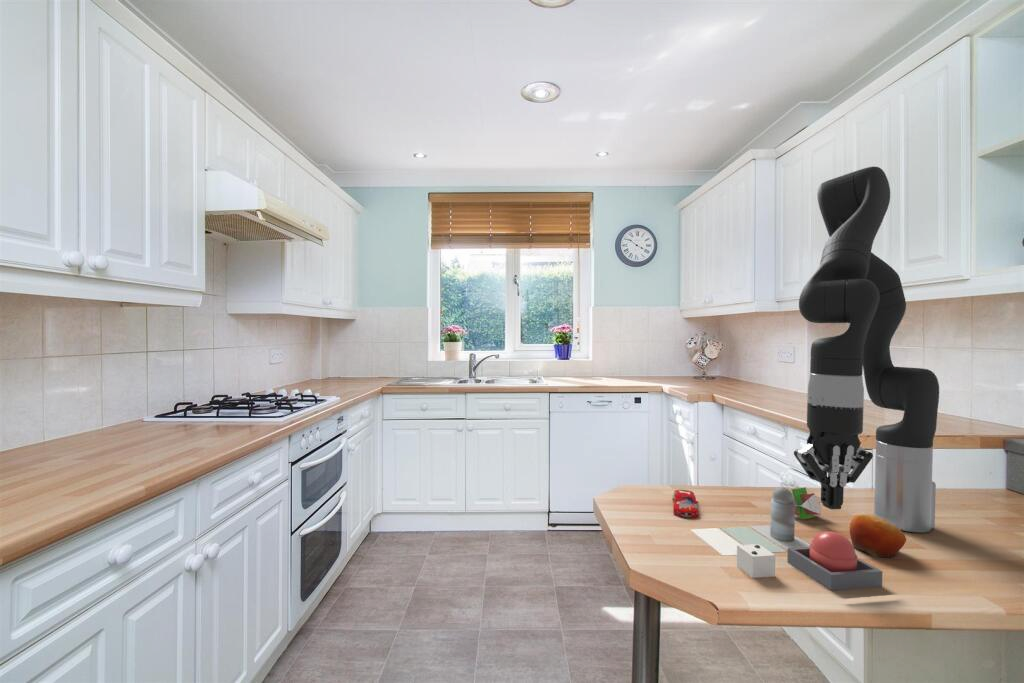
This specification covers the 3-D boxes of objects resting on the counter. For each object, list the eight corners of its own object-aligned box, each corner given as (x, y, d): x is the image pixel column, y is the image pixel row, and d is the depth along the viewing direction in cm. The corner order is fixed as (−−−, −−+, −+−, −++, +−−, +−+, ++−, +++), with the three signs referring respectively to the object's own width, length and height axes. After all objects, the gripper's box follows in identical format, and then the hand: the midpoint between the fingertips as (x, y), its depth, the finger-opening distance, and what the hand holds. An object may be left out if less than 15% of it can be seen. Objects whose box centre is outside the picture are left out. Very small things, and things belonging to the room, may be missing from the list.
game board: (775, 526, 96) (775, 523, 96) (822, 553, 84) (822, 550, 84) (687, 531, 93) (687, 528, 93) (723, 560, 81) (723, 556, 81)
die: (758, 567, 79) (758, 542, 79) (774, 579, 75) (775, 553, 75) (736, 568, 78) (737, 543, 78) (752, 581, 74) (752, 554, 74)
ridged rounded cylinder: (783, 532, 92) (784, 484, 91) (799, 541, 88) (800, 490, 87) (765, 533, 91) (766, 484, 91) (780, 542, 87) (781, 491, 87)
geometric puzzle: (770, 502, 104) (790, 480, 99) (792, 499, 106) (813, 477, 101) (793, 532, 98) (815, 510, 94) (816, 527, 101) (839, 506, 96)
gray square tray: (833, 562, 81) (834, 545, 81) (882, 590, 72) (882, 571, 72) (787, 565, 79) (787, 548, 79) (830, 594, 71) (831, 575, 70)
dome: (833, 558, 79) (834, 524, 79) (867, 578, 73) (868, 540, 73) (800, 561, 78) (800, 525, 78) (831, 581, 72) (832, 542, 72)
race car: (699, 524, 97) (699, 505, 97) (671, 520, 99) (672, 502, 99) (696, 503, 110) (697, 486, 110) (672, 500, 112) (672, 483, 111)
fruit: (831, 541, 86) (847, 502, 87) (854, 557, 88) (869, 518, 90) (879, 561, 78) (895, 518, 80) (903, 577, 81) (918, 535, 82)
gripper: (850, 399, 80) (847, 498, 80) (781, 398, 78) (778, 500, 78) (892, 405, 73) (888, 515, 73) (816, 405, 71) (813, 518, 71)
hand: (831, 507), depth 76 cm, fingers closed
